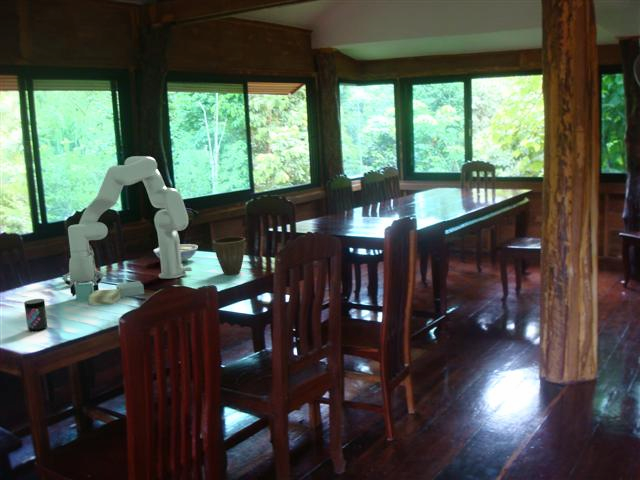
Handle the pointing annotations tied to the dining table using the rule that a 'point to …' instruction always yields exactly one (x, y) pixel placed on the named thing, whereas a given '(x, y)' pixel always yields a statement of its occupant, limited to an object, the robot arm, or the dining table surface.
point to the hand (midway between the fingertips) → (85, 294)
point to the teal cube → (84, 291)
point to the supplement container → (36, 315)
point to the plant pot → (230, 254)
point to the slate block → (130, 288)
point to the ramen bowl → (182, 251)
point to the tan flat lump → (104, 297)
